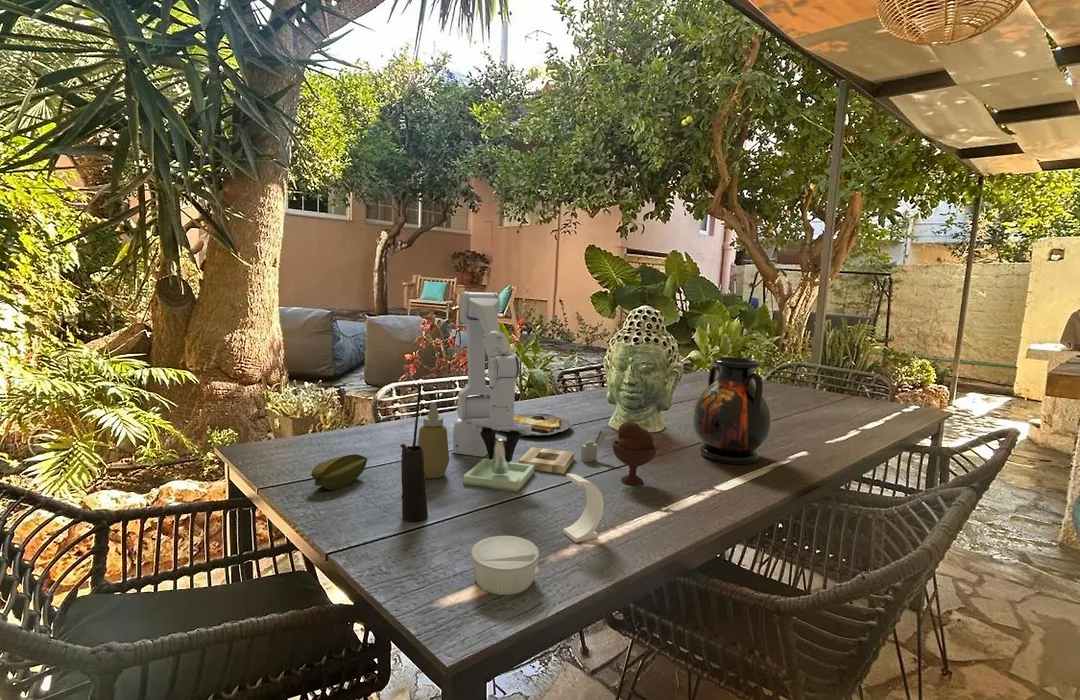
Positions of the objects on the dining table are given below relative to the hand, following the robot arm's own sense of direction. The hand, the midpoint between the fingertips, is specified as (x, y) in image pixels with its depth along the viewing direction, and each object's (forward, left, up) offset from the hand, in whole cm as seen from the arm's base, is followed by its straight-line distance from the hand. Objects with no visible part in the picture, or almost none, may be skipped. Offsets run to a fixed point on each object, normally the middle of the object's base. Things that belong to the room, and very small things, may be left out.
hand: (500, 459), depth 142 cm
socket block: (+8, +15, -5) cm, 18 cm away
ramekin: (+16, -44, -5) cm, 47 cm away
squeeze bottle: (-16, -4, -5) cm, 17 cm away
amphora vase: (+55, +41, -5) cm, 69 cm away
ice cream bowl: (+31, +10, -5) cm, 33 cm away
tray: (0, 0, -5) cm, 5 cm away
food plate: (-5, +46, -5) cm, 47 cm away
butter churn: (-10, -27, -5) cm, 29 cm away
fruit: (-33, -17, -5) cm, 37 cm away
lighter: (+19, +23, -5) cm, 30 cm away
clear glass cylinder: (0, 0, -3) cm, 3 cm away
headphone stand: (+25, -23, -5) cm, 34 cm away
